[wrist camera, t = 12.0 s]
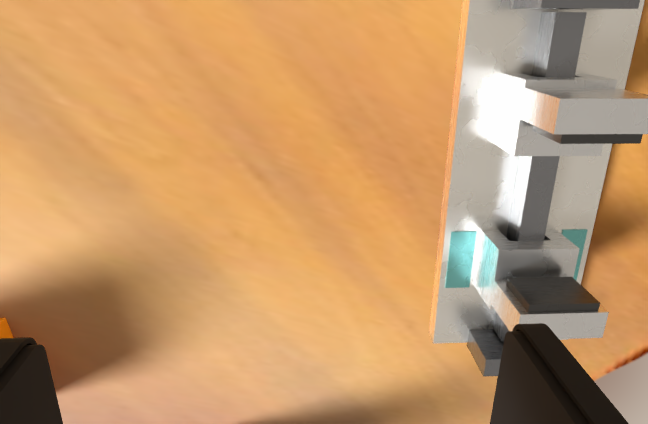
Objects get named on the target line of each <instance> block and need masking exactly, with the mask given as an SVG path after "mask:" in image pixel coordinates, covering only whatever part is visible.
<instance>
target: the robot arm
mask: <svg viewBox="0 0 648 424" xmlns="http://www.w3.org/2000/svg"><path fill="white" fill-rule="evenodd" d="M0 424H63V422H62V417H61V413H60V409H59V405H58V401H57V396H56V392H55V388H54V384H53V380H52V375H51V371H50V367H49V363H48V359H47V355H46V351H45V348H44V347H43V346H42V345H37V343H36V341H35V340H34V339H33V338H1V339H0ZM490 424H628V422H627V421H626V420H625V419H624V418H623V416H622V415H621V414H620V413H619V411H618V410H617V409H616V408H615V407H614V405H613V404H612V403H611V402H610V400H609V399H608V398H607V397H606V396H605V394H604V393H603V392H602V391H601V390H600V388H599V387H598V386H597V385H596V383H595V382H594V381H593V380H592V379H591V377H590V376H589V375H588V374H587V373H586V371H585V370H584V369H583V368H582V367H581V365H580V364H579V363H578V362H577V360H576V359H575V358H574V357H573V356H572V354H571V353H570V352H569V351H568V350H567V348H566V347H565V346H564V345H563V343H562V342H561V341H560V340H559V339H558V337H557V336H556V335H555V334H554V333H553V331H552V330H551V329H550V328H549V327H548V326H547V325H546V324H543V323H536V324H517V325H515V326H514V328H513V331H508V332H507V333H506V334H505V338H504V344H503V350H502V356H501V362H500V368H499V374H498V379H497V385H496V391H495V397H494V403H493V409H492V415H491V421H490Z"/></svg>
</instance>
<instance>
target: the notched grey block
mask: <svg viewBox="0 0 648 424" xmlns="http://www.w3.org/2000/svg"><path fill="white" fill-rule="evenodd" d="M578 254H579V248H578V247H577V246H576V245H574V244H573V243H572V242H571V241H570V240H568V239H567V238H566V237H565V236H563V235H562V234H561V233H560V232H558V231H557V230H546V233H545V238H544V241H509V240H508V239H507V238H506V237H505V236H504V235H503V234H502V233H501V232H500V231H499V230H495V231H482V234H481V241H480V248H479V256H478V263H477V270H476V278H475V285H474V287H475V288H476V290H477V291H478V293H479V294H480V296H481V297H482V299H483V300H484V301H485V303H486V304H487V306H488V307H489V309H490V310H495V311H496V312H497V314H498V315H499V317H500V318H501V319H502V321H503V322H504V324H505V325H506V327H507V328H508V330H509V331H513V328H514V326H515V325H517V324H536V323H543V324H546V325H547V326H548V327H549V328H550V329H551V330H552V331H553V333H554V334H555V335H556V336H557V337H558V339H572V338H602V337H603V333H604V329H605V325H606V321H607V317H608V313H609V312H608V311H607V310H606V309H605V308H604V307H602V306H601V305H600V303H599V302H598V301H597V300H596V299H595V298H594V297H593V296H592V295H591V294H590V293H589V292H588V291H587V290H586V289H584V288H583V287H582V286H581V285H580V284H579V283H578V282H577V281H576V280H575V279H574V278H573V277H574V272H575V268H576V263H577V259H578Z"/></svg>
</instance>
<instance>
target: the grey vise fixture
mask: <svg viewBox="0 0 648 424" xmlns="http://www.w3.org/2000/svg"><path fill="white" fill-rule="evenodd" d="M644 1H645V0H463V1H462V10H461V20H460V30H459V40H458V50H457V60H456V70H455V79H454V89H453V99H452V109H451V119H450V129H449V138H448V148H447V158H446V168H445V178H444V188H443V197H442V207H441V217H440V227H439V237H438V247H437V256H436V266H435V276H434V286H433V296H432V306H431V315H430V325H429V335H430V337H431V340H432V342H433V343H463V342H467V346H468V348H469V350H470V352H471V354H472V356H473V358H474V360H475V361H476V363H477V365H478V367H479V369H480V371H481V373H482V375H483V376H498V374H499V368H500V362H501V356H502V350H503V344H504V338H505V334H506V333H507V332H508V331H509V330H508V328H507V327H506V325H505V324H504V322H503V321H502V319H501V318H500V317H499V315H498V314H497V312H496V311H495V310H490V309H489V307H488V306H487V304H486V303H485V301H484V300H483V299H482V297H481V296H480V294H479V293H478V291H477V290H476V288H475V287H474V285H475V278H476V270H477V263H478V256H479V248H480V241H481V234H482V231H495V230H499V231H500V232H501V233H502V234H503V235H504V236H505V237H506V238H507V239H508V240H509V241H544V238H545V233H546V230H557V231H558V232H560V233H561V234H562V235H563V236H565V237H566V238H567V239H568V240H570V241H571V242H572V243H573V244H574V245H576V246H577V247H578V248H579V254H578V259H577V263H576V268H575V272H574V277H573V278H574V279H575V280H576V281H577V282H578V283H579V284H580V285H581V281H582V276H583V272H584V267H585V263H586V259H587V254H588V250H589V245H590V241H591V236H592V232H593V228H594V223H595V219H596V214H597V210H598V205H599V201H600V197H601V192H602V188H603V183H604V179H605V174H606V170H607V165H608V161H609V157H610V152H611V148H612V144H621V143H641V139H642V135H643V134H648V95H646V94H641V93H637V92H632V91H628V90H625V86H626V81H627V77H628V72H629V68H630V64H631V59H632V55H633V50H634V46H635V41H636V37H637V32H638V28H639V24H640V19H641V15H642V10H643V6H644ZM559 340H564V339H559Z"/></svg>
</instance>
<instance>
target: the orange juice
mask: <svg viewBox="0 0 648 424" xmlns="http://www.w3.org/2000/svg"><path fill="white" fill-rule="evenodd" d="M1 338H13V335H12V333H11V330H10V328H9V325H8V323H7V320H6V318H0V339H1Z"/></svg>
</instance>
